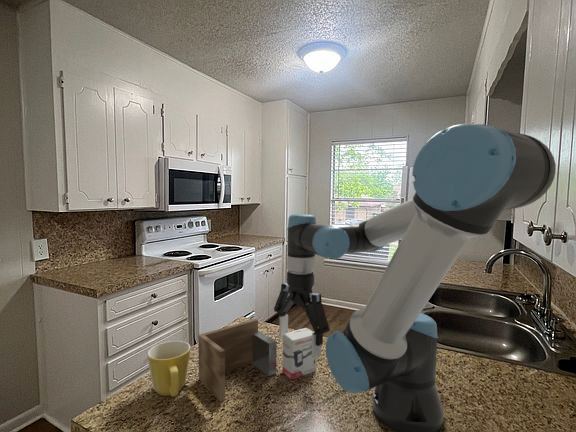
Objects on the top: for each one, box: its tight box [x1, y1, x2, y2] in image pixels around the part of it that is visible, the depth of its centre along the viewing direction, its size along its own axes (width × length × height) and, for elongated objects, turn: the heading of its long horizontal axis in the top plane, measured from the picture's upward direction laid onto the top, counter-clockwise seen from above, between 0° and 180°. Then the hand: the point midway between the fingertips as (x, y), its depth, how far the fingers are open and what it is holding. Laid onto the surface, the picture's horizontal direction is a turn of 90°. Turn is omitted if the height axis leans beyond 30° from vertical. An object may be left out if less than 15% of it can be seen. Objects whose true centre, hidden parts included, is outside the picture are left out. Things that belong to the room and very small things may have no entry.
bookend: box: [251, 331, 278, 377], centre depth 89 cm, size 8×2×9 cm, turn 40°
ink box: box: [282, 327, 317, 380], centre depth 88 cm, size 8×5×12 cm, turn 123°
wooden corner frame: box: [198, 318, 259, 403], centre depth 84 cm, size 12×18×13 cm, turn 130°
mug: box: [147, 340, 192, 397], centre depth 79 cm, size 14×10×10 cm
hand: (298, 346), depth 88 cm, fingers open, 13 cm apart
